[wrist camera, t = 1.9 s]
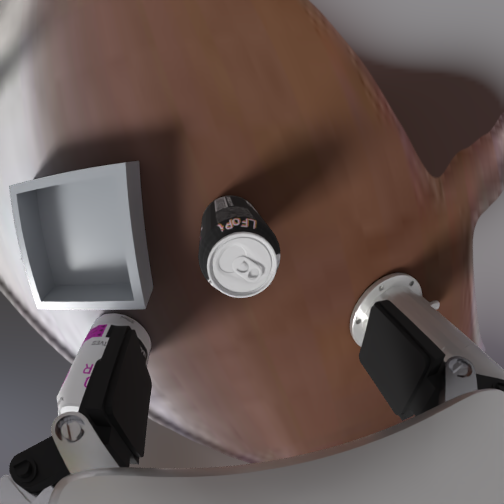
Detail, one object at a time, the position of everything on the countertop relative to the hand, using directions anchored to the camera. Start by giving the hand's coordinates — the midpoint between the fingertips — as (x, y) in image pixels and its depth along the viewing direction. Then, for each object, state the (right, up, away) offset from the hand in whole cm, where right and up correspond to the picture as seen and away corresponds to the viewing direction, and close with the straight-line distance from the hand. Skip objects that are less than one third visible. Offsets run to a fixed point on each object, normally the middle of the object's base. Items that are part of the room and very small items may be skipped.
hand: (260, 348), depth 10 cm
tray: (-18, +6, +17) cm, 26 cm away
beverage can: (-3, +7, +19) cm, 20 cm away
